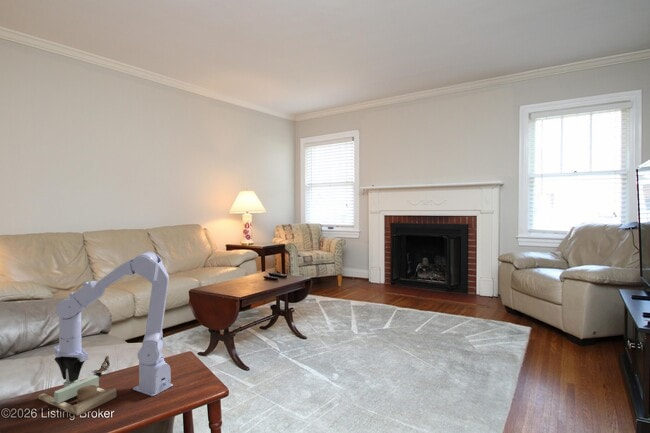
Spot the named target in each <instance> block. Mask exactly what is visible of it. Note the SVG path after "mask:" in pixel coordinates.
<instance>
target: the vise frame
mask: <svg viewBox="0 0 650 433" xmlns="http://www.w3.org/2000/svg"><path fill="white" fill-rule="evenodd" d="M116 398H117V388H114V387H111V388H109V389H104V388H101V387H99V386H97V395H95V396H93V397H91V398H88V399H86V400H84V401H82V402H80V403H75V404H70V403H68V402H66V401H63V402H60V403H56V402H54V396H51V395H49V394H47V393H41V394H39V395H38V400H41V401H43V402H44V403H47V404H48V405H49V404H50V405H51V406H55V408H59V409H60V410H62V411H63V410H64V411H65V412H68V413H70V414H72V415H74V416H77V417H78V416H80V415H82V414H85V413H87V412H89V411H90V410H93V409H95V408H97V407H99V406H101V405H104V404H106V403H108V402H109V401H112V400H114V399H116Z"/></svg>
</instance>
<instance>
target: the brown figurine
mask: <svg viewBox="0 0 650 433" xmlns="http://www.w3.org/2000/svg"><path fill="white" fill-rule="evenodd" d="M109 359H110V356H109V355H107V356H105V357H104V360H103V362H102V363H101V365H100V368H99V370H98V371H95V375H96V376H99V377H100V376H103V371H104V372H105V371H107V370H108V368H109V367H110V366H111V363H110V360H109Z"/></svg>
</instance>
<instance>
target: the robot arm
mask: <svg viewBox="0 0 650 433" xmlns="http://www.w3.org/2000/svg"><path fill="white" fill-rule="evenodd" d="M134 274H137V275H139V276H142V277H143V278H145V279H146V280H148V281H149V282H150V283H151V292H150V298H149V299H150V300H149V305H148V312H147V320H146V328H145V333H144V337H143V341H142V346H141V348H140V349H138V353H137V358H138V362H139V364H138V365H139V366H138V368H139V370H138V379H139V380H138V385H136V386H134V387H133V388H132V390H133V391H136V392H138V393H142V394H145V395H147V396H150V397H154V396H156V395H159V394H160V393H162V392H164V391H165V390H168V389H169V388H171V387H173V386H174V384H173V383H172V382H171V381H172V378H171V377H172V372H171V371H172V370H171V366H170V365H169V363H167V362H166V361H165V358H164V355H163V353H162V351H163V350H164V347H165V341H164V338H163V335H164V334H163V332H164V331H163V326H164V319H165V312H166V304H167V303H166V302H167V297H168V296H167V295H168V291H169V282H170V275H169V273H168V271H167V269H166V267H165V265H164V262H163V260H162V258H161V257H160V256H159V255H158V254H157V253H155V252H154V251H150V250H149V251H144V252H143V253H140V254H139V255H136V256H135V257H133V258H131V259H128V260H127V261H125V262H123V263H122V264H120V265H119V266H117V267H115V269H113V270H112V271H110V272H109V273H108V274H106V275H105V276H104V277H103V278H100V279H99V280H91V281H86V282H84V283H82V287H81V288H79V289H77V290H76V291H75V292H73V291H72V292H70V293H69V294H68V297H66V298H65V299H62V300H60V301H59V303H57V305H56V307H55V313H56V316H58V317H59V318H58V320H59V321H58V329H59V330H58V338H59V341H58V343H59V344H58V345H55V346H53V353H54V354H55V355H54V356H55V357H54V361H55V362H56V364H57V366H58V368H59V370H60V372H61V376H62V379H63V380H65V381H66V369H68V375H69V380H70V382H73V381H75V380H79V376H80V374H81V370H82V368H83V365H84V363H85V361H88V360H89V353H88V352H86V351H85V349H84V347H82V344H83V343H82V328H83V327H82V311H83V310H84V309H85V308H88V307H89V306H90V305H91V304H93V303H95V302H96V301H97V300H99V299H100V298H101V297H103V296H104V295H105V291H106V289H107V288H109V287H110V286H111V285H113V284H114V283H115V282H118V281H119V280H120V279H122V278H123V277H125V276H133V275H134Z"/></svg>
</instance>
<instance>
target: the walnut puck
mask: <svg viewBox="0 0 650 433" xmlns="http://www.w3.org/2000/svg"><path fill="white" fill-rule="evenodd" d="M97 387H98V386H95V385H88V386H84V387H82V388H80V389H78V390H77V396H76V398H77V403H80V402H82V401H84V400H86V399H88V398H91V397H93V396H95V395H97ZM77 403H76V404H77Z"/></svg>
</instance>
